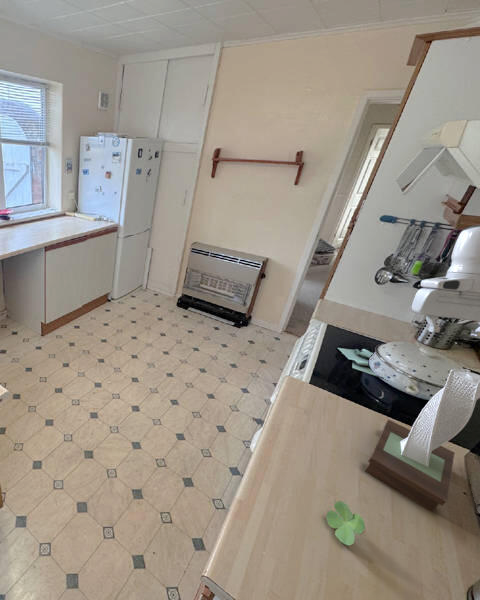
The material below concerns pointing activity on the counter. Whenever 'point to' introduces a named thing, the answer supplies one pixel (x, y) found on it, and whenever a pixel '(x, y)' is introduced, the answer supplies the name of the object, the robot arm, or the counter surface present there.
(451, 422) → the white twisted piece
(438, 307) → the robot arm
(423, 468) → the wooden jewelry box
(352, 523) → the seedling
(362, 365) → the cloth
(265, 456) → the counter surface
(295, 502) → the counter surface
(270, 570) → the counter surface
